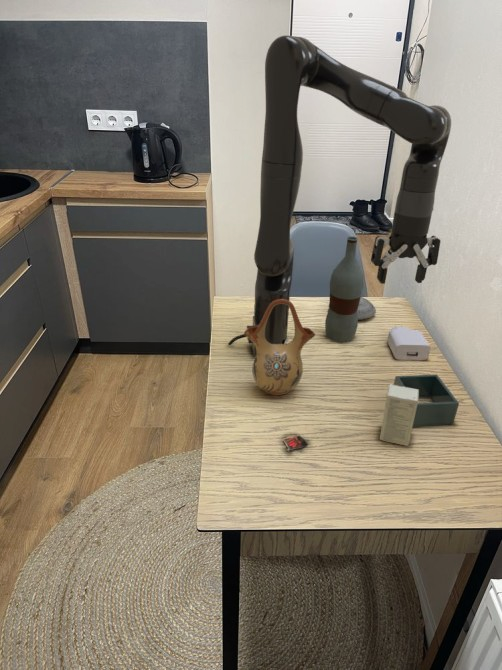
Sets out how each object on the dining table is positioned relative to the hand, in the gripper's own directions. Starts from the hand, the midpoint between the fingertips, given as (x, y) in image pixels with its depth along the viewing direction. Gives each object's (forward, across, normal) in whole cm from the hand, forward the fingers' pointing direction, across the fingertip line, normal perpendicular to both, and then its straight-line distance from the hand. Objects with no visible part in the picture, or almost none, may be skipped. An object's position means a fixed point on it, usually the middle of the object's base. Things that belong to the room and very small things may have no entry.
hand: (399, 282), depth 112 cm
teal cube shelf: (+28, -6, +11) cm, 31 cm away
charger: (+28, -13, -18) cm, 36 cm away
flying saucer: (+28, -4, -40) cm, 49 cm away
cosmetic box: (+28, +4, +20) cm, 35 cm away
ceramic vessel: (+28, +27, +1) cm, 39 cm away
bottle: (+28, +4, -25) cm, 38 cm away
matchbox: (+28, +26, +20) cm, 43 cm away
